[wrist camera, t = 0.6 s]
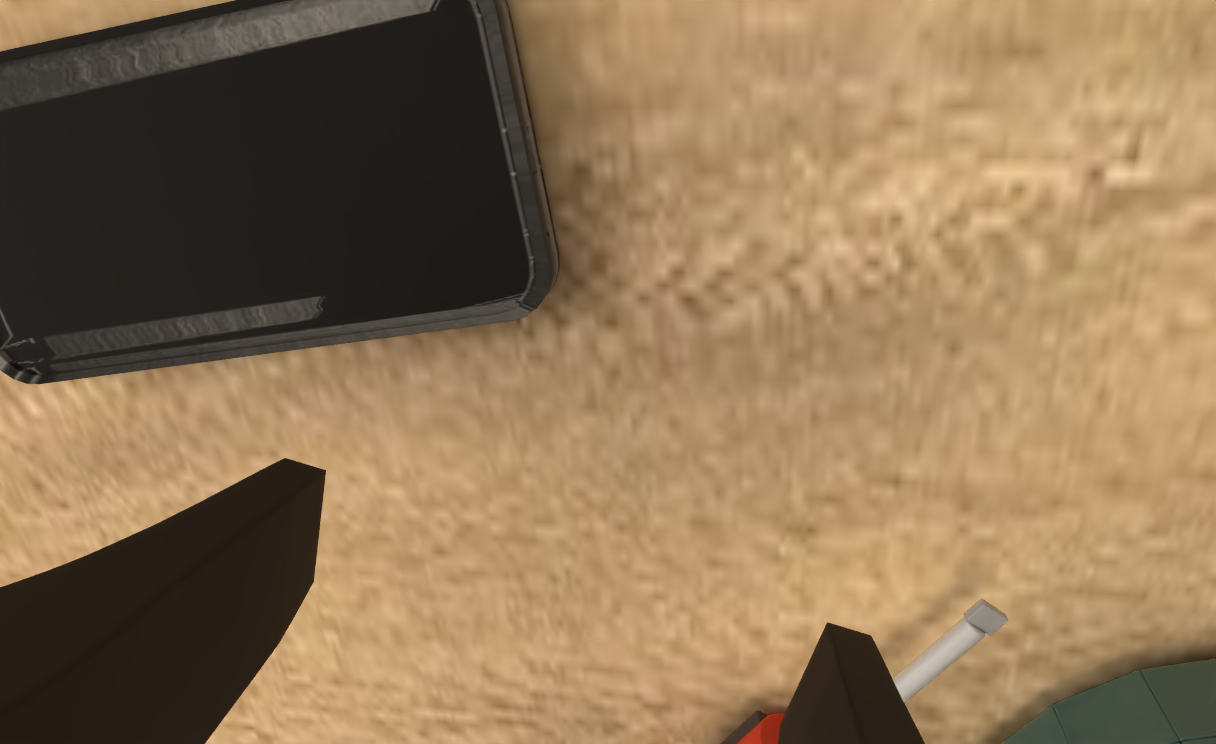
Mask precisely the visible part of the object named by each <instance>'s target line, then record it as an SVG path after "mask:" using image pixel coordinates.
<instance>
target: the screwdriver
mask: <svg viewBox="0 0 1216 744" xmlns="http://www.w3.org/2000/svg"><path fill="white" fill-rule="evenodd" d="M964 616H965V617H964V618H963V619H962V620H961V621H959V622H958V623H957V624H956V625H955V626H954V627H952V628H951V629H950V630H949V631H948V632H946V633H945V634H944V635H943V636H942V637H941V638H939V639H938V640H937V641H936V642H935V643H934V644H932V645H931V646H930V647H929V648H928V649H927V650H925V651H924V652H923V653H922V654H921V655H919V656H918V657H917V658H916V659H915V660H914V661H912V662H911V663H910V664H909V665H908V666H907V667H905V668H904V669H903V670H902V671H901V672H900V673H898V674H897V675H896V676H895V677H894V678H893V681H894V683H895V685H896V687H897V689H898V691H899V693H900V695H901V697H902V699H903V701H904V703H905V702H906V701H908V700H909V699H910V698H911V697H912V696H914V695H915V694H916V693H917V692H918V691H920V690H921V689H922V688H923V687H924V686H926V685H927V684H928V683H929V682H930V681H932V680H933V679H934V678H935V677H936V676H938V675H939V674H940V673H941V672H942V671H944V670H945V669H946V668H947V667H948V666H950V665H951V664H952V663H953V662H954V661H956V660H957V659H958V658H959V657H960V656H962V655H963V654H964V653H965V652H966V651H968V650H969V649H970V648H971V647H972V646H974V645H975V644H976V643H977V642H978V641H980V640H981V639H982V638H983V637H984V636H985V633H987V634H988V635H992V634H993V633H994V632H995V631H996V630H998V629H999V628H1000V627H1001V626H1002V625H1004V624H1005V623H1006V622H1007V621H1008V619H1007V617H1006V615H1005V614H1004V613H1003V612H1001V611H1000V610H998V609H997V608H995V607H994V606H992V605H991V604H989V603H988V602H986V601H985V600H983V599H980V600H979V601H978V602H977V603H976V604H974V605H973V606H972V607H971V608H970V609H969V610H967V611H966V612H965V613H964ZM784 715H785V714H783V713H773V714H770V715H768V716H767V715H766V714H764V713H762V712H761V711H756V712H755V713H754V714H753V715H752V716H751V717H750V718H749V719H747V720H746V721H745V722H744V723H743V724H742V725H741V726H740V727H739V728H737V729H736V730H735V731H734V732H733V733H732V734H731V735H730V736H729V737H728V738H726V739H725V740H724V741H723V742H722V743H721V744H778V738H779V728H780V724H781V722H782V720H783V718H784Z"/></svg>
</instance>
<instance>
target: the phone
mask: <svg viewBox="0 0 1216 744" xmlns="http://www.w3.org/2000/svg"><path fill="white" fill-rule="evenodd" d="M558 271H559V252H558V247H557V242H556V237H555V232H554V227H553V222H552V218H551V213H550V208H549V203H548V198H547V193H546V188H545V183H544V178H543V173H542V169H541V164H540V159H539V154H538V149H537V144H536V139H535V134H534V129H533V124H532V120H531V115H530V110H529V105H528V100H527V95H526V90H525V85H524V80H523V76H522V71H521V66H520V61H519V56H518V51H517V46H516V41H515V36H514V31H513V27H512V22H511V17H510V12H509V7H508V4H507V2H506V0H235V1H231V2H226V3H222V4H217V5H212V6H208V7H203V8H199V9H194V10H189V11H185V12H180V13H176V14H171V15H166V16H162V17H157V18H153V19H148V20H143V21H139V22H134V23H130V24H125V25H120V26H116V27H111V28H107V29H102V30H97V31H93V32H88V33H84V34H79V35H74V36H70V37H65V38H61V39H56V40H51V41H47V42H42V43H38V44H33V45H28V46H24V47H19V48H15V49H10V50H6V51H1V52H0V370H1V371H2V372H4V373H5V374H7V375H8V376H10V377H11V378H13V379H15V380H18V381H21V382H24V383H27V384H43V383H51V382H58V381H66V380H73V379H81V378H88V377H96V376H103V375H111V374H118V373H126V372H133V371H140V370H148V369H155V368H163V367H170V366H178V365H185V364H193V363H200V362H208V361H215V360H223V359H230V358H238V357H245V356H253V355H260V354H268V353H275V352H283V351H290V350H298V349H305V348H313V347H320V346H328V345H335V344H343V343H350V342H358V341H365V340H373V339H380V338H388V337H395V336H402V335H410V334H417V333H425V332H432V331H440V330H447V329H455V328H462V327H470V326H477V325H485V324H492V323H500V322H508V321H513V320H516V319H519V318H523V317H525V316H527V315H528V314H530V313H531V312H532V311H534V310H535V309H537V308H538V306H539V305H540V303H541V302H542V301H543V299H544V298H545V296H546V295H547V293H548V292H549V291H550V289H551V288H552V286H553V285H554V283H555V282H556V278H557V275H558Z"/></svg>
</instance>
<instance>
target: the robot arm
mask: <svg viewBox="0 0 1216 744" xmlns="http://www.w3.org/2000/svg"><path fill="white" fill-rule="evenodd" d="M325 475H326V470H323V469H319V468H316V467H313V466H310V465H306V464H303V463H300V462H296V461H293V460H290V459H286V458H284V459H282V460H280V461H278V462H276V463H274V464H272V465H270V466H268V467H266V468H264V469H262V470H260V471H259V472H257V473H255V474H253V475H251V476H249V477H247V478H245V479H243V480H241V481H239V482H238V483H236V484H234V485H232V486H230V487H228V488H226V489H224V490H222V491H220V492H219V493H217V494H215V495H213V496H211V497H209V498H207V499H205V500H203V501H201V502H199V503H197V504H195V505H193V506H191V507H189V508H187V509H185V510H183V511H181V512H179V513H177V514H175V515H173V516H171V517H169V518H167V519H165V520H163V521H161V522H159V523H157V524H155V525H153V526H151V527H149V528H147V529H145V530H142V531H140V532H138V533H136V534H134V535H131V536H129V537H127V538H125V539H122V540H120V541H118V542H116V543H114V544H111V545H109V546H107V547H105V548H102V549H100V550H98V551H96V552H93V553H91V554H89V555H87V556H84V557H82V558H79V559H77V560H74V561H72V562H69V563H67V564H64V565H62V566H59V567H56V568H54V569H51V570H49V571H46V572H43V573H40V574H37V575H35V576H32V577H29V578H26V579H23V580H21V581H18V582H15V583H12V584H9V585H6V586H3V587H0V744H205V743H206V741H207V740H208V739H209V737H210V736H211V735H212V733H213V732H214V731H215V729H216V728H217V727H218V725H219V724H220V723H221V721H222V720H223V718H224V717H225V716H226V714H227V713H228V712H229V710H230V709H231V708H232V706H233V705H234V704H235V702H236V701H237V700H238V698H239V697H240V696H241V694H242V693H243V692H244V690H245V689H246V688H247V686H248V685H249V684H250V682H251V681H252V680H253V678H254V677H255V675H256V674H257V673H258V671H259V670H260V669H261V667H262V666H263V665H264V663H265V662H266V660H267V659H268V658H269V656H270V655H271V654H272V652H273V651H274V649H275V648H276V647H277V645H278V644H279V642H280V641H281V639H282V637H283V636H284V634H285V632H286V630H287V629H288V627H289V625H290V623H291V622H292V620H293V618H294V617H295V615H296V613H297V611H298V609H299V607H300V606H301V604H302V602H303V600H304V598H305V597H306V595H307V593H308V591H309V589H310V587H311V586H312V584H313V582H314V574H315V565H316V556H317V547H318V538H319V529H320V520H321V511H322V502H323V493H324V484H325ZM778 744H925V743H924V741H923V739H922V737H921V735H920V733H919V731H918V729H917V727H916V725H915V723H914V721H913V719H912V717H911V715H910V713H909V711H908V709H907V707H906V705H905V703H904V701H903V699H902V697H901V695H900V693H899V691H898V689H897V687H896V685H895V683H894V681H893V679H892V677H891V675H890V673H889V671H888V669H887V667H886V665H885V663H884V660H883V658H882V656H881V654H880V652H879V650H878V648H877V646H876V644H875V642H874V641H873V639H872V637H871V636H870V635H867V634H864V633H861V632H857V631H854V630H851V629H847V628H844V627H841V626H838V625H834V624H831V623H828V622H827V624H826V626H825V628H824V630H823V633H822V635H821V637H820V639H819V641H818V644H817V646H816V648H815V650H814V652H813V654H812V657H811V659H810V661H809V663H808V665H807V668H806V670H805V672H804V674H803V676H802V678H801V681H800V683H799V685H798V687H797V689H796V691H795V694H794V696H793V698H792V700H791V702H790V705H789V707H788V709H787V711H786V713H785V715H784V718H783V720H782V722H781V724H780V728H779V738H778Z"/></svg>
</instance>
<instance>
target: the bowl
mask: <svg viewBox="0 0 1216 744" xmlns="http://www.w3.org/2000/svg"><path fill="white" fill-rule="evenodd" d="M1001 744H1216V658H1215V659H1208V660H1201V661H1194V662H1187V663H1180V664H1173V665H1167V666H1160V667H1153V668H1146V669H1141V670H1140V671H1139V670H1136V671H1134V672H1131V673H1129V674H1126V675H1124V676H1121V677H1119V678H1116V679H1114V680H1111V681H1109V682H1106V683H1104V684H1101V685H1099V686H1097V687H1094V688H1092V689H1089V690H1087V691H1084V692H1082V693H1079V694H1077V695H1074V696H1072V697H1069V698H1067V699H1064V700H1062V701H1059V702H1057V703H1054V704H1053V705H1051V706H1050V707H1048V708H1047V709H1046V710H1044V711H1043V712H1042V713H1040V714H1039V715H1038V716H1036V717H1035V718H1034V719H1033V720H1031V721H1030V722H1029V723H1027V724H1026V725H1025V726H1023V727H1022V728H1021V729H1020V730H1018V731H1017V732H1016V733H1014V734H1013V735H1012V736H1010V737H1009V738H1008V739H1007V740H1005V741H1004V742H1003V743H1001Z"/></svg>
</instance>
